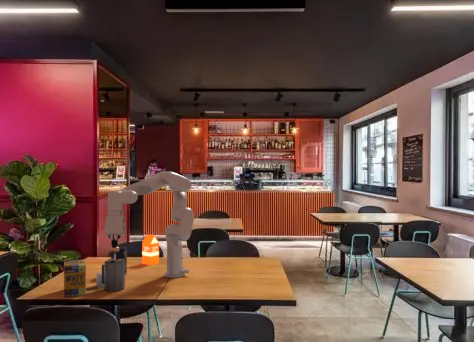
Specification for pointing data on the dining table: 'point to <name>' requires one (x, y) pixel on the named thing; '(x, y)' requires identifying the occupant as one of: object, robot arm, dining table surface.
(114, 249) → the plunger
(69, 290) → the protein box
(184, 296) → the dining table surface
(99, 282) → the glossy white dome
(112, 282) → the carafe
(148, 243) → the orange juice
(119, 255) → the canister
